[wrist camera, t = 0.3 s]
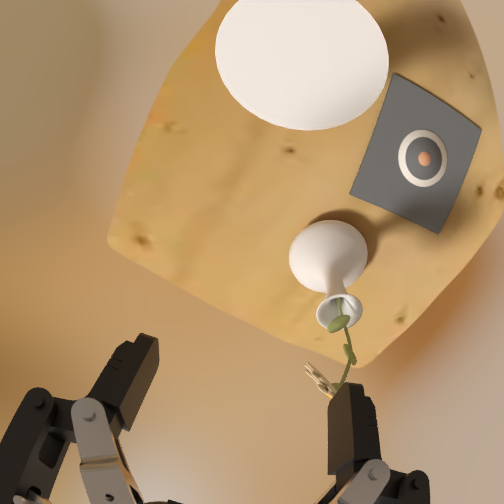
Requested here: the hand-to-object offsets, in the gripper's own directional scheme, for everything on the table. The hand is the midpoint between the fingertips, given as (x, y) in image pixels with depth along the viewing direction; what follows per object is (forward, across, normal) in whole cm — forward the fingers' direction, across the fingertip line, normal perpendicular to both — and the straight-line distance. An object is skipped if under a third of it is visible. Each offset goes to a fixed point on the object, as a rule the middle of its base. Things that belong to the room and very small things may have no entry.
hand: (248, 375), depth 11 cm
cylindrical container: (+30, +1, -12) cm, 32 cm away
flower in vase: (+30, -9, +9) cm, 32 cm away
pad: (+30, -18, -10) cm, 36 cm away
